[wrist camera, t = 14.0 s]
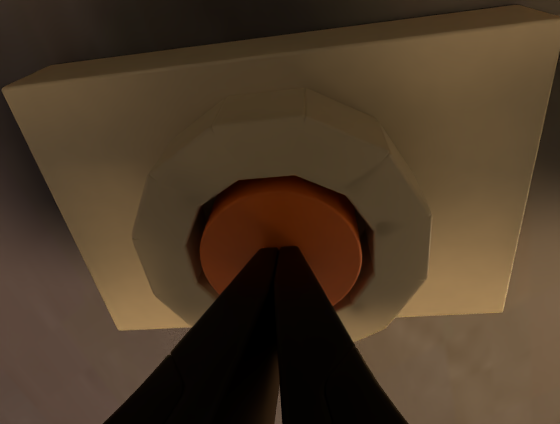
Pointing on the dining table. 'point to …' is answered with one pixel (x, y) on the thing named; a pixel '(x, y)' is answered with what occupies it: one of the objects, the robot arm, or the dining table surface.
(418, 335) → the dining table surface
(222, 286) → the button
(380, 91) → the panel
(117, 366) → the dining table surface
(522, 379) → the dining table surface
